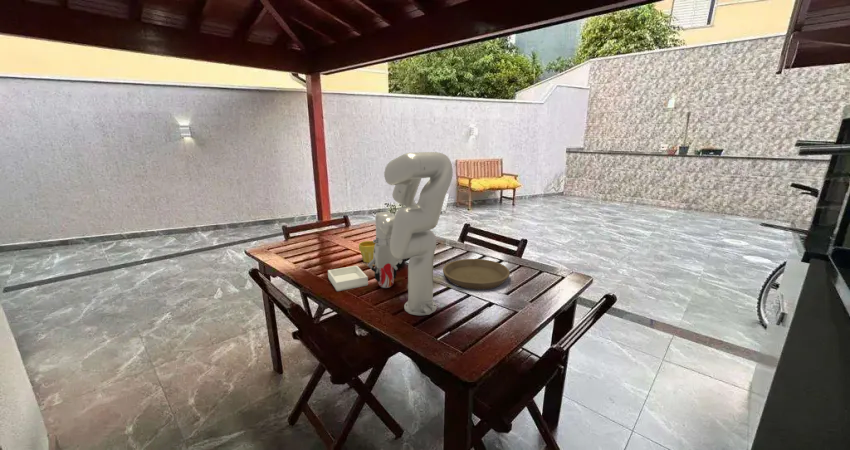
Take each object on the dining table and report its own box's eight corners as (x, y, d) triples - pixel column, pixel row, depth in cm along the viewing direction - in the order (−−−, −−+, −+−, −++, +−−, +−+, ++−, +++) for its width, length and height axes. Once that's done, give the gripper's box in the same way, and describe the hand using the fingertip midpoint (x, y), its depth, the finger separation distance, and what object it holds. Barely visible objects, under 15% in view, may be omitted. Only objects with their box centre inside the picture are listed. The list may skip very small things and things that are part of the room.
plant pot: (358, 258, 191) (357, 241, 189) (377, 256, 194) (376, 239, 192) (361, 265, 182) (360, 247, 179) (380, 263, 185) (380, 245, 182)
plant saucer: (432, 284, 159) (432, 274, 158) (456, 262, 186) (456, 254, 185) (500, 297, 146) (500, 287, 145) (515, 272, 173) (516, 263, 172)
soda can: (391, 289, 153) (390, 263, 150) (375, 288, 154) (374, 262, 151) (395, 283, 160) (395, 258, 157) (380, 281, 161) (380, 257, 158)
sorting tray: (368, 285, 157) (367, 276, 156) (336, 291, 151) (336, 282, 150) (357, 273, 171) (356, 265, 170) (328, 278, 164) (327, 270, 164)
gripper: (368, 245, 145) (369, 285, 149) (406, 240, 153) (407, 278, 157) (362, 241, 151) (364, 279, 155) (399, 236, 159) (400, 272, 163)
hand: (385, 278), depth 156 cm, fingers closed on soda can, 7 cm apart
